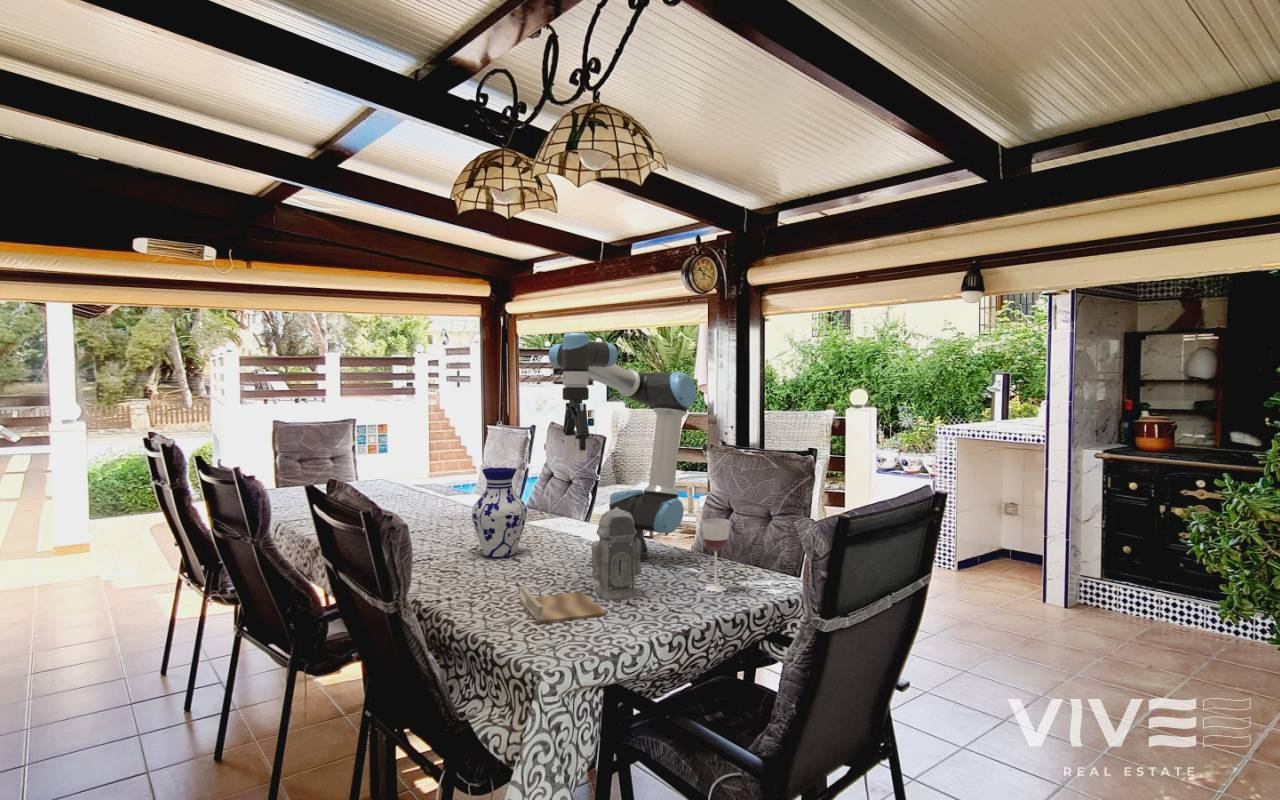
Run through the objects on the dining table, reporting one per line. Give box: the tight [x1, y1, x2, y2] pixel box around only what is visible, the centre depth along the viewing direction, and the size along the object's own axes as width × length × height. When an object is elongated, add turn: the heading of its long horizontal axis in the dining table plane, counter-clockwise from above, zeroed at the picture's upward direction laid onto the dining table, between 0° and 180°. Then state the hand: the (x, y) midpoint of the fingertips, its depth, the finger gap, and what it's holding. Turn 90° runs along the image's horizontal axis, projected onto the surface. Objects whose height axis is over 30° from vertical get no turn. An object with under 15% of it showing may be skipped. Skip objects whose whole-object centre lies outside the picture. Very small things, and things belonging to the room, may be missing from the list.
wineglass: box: [701, 517, 730, 593], centre depth 211 cm, size 8×9×20 cm
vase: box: [471, 467, 528, 559], centre depth 253 cm, size 19×19×30 cm
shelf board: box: [519, 585, 607, 625], centre depth 192 cm, size 18×20×4 cm
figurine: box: [591, 507, 642, 601], centre depth 206 cm, size 10×14×25 cm
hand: (575, 459), depth 210 cm, fingers open, 13 cm apart
